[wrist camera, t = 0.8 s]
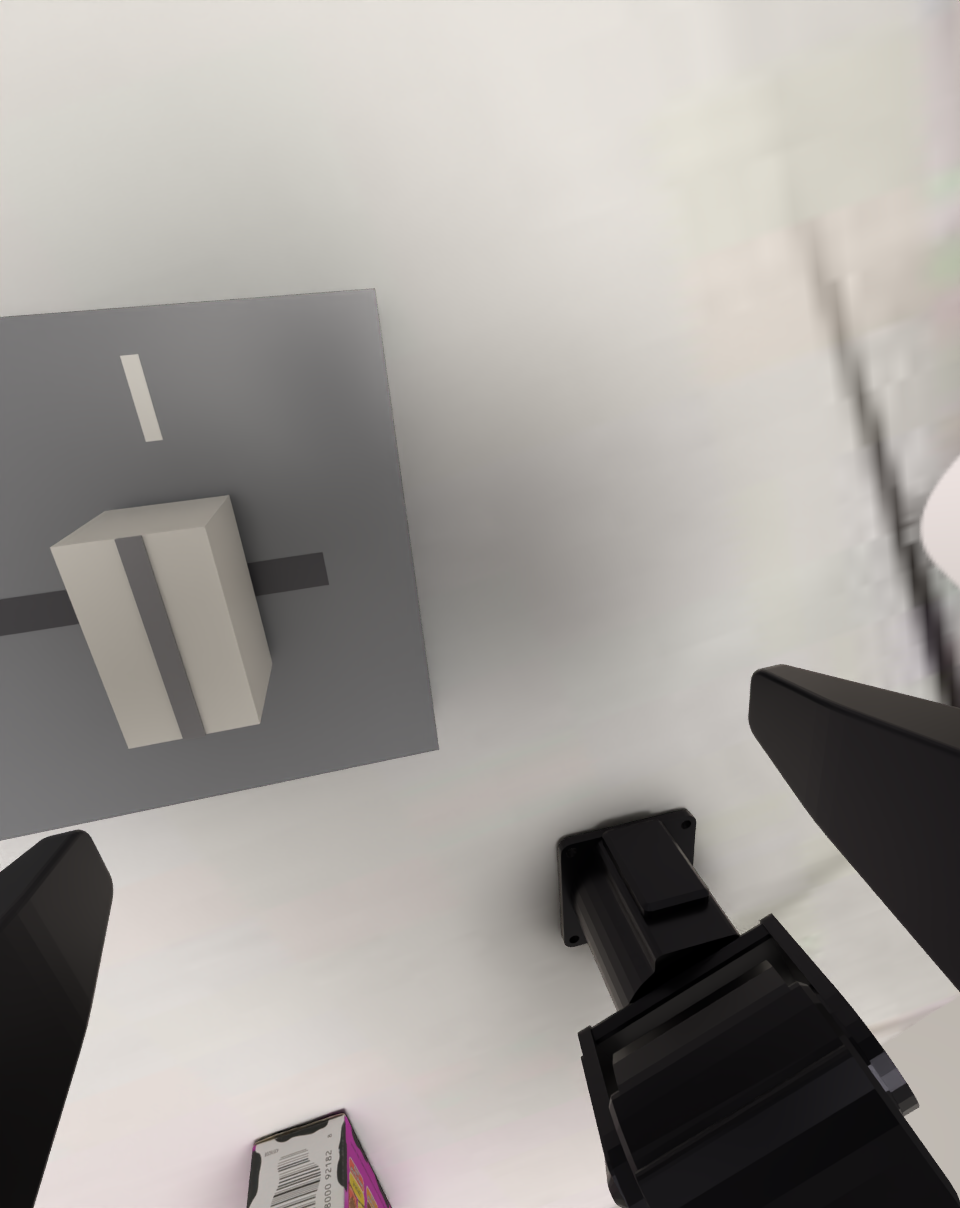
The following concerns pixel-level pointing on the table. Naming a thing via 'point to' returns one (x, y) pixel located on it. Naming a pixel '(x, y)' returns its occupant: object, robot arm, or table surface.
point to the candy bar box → (313, 1169)
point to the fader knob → (169, 618)
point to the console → (266, 527)
